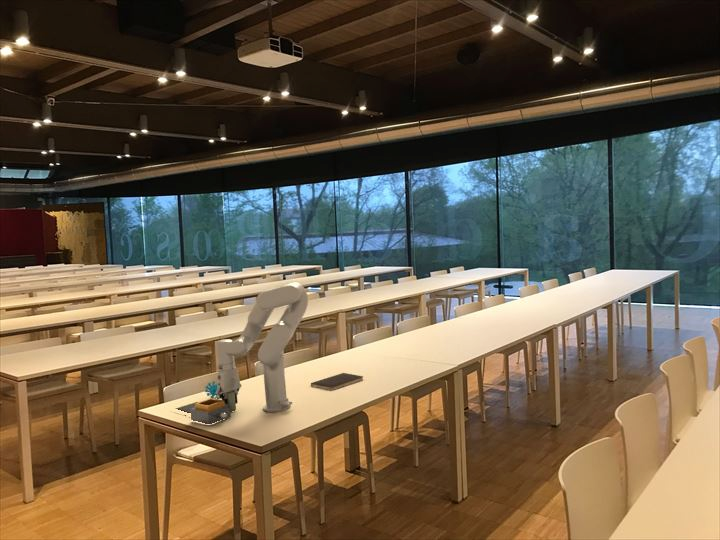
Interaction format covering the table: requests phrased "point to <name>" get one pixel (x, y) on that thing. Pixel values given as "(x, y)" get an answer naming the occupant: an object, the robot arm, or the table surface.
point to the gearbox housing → (210, 411)
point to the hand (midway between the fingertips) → (230, 404)
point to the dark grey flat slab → (187, 407)
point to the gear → (212, 390)
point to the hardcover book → (337, 381)
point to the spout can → (231, 400)
